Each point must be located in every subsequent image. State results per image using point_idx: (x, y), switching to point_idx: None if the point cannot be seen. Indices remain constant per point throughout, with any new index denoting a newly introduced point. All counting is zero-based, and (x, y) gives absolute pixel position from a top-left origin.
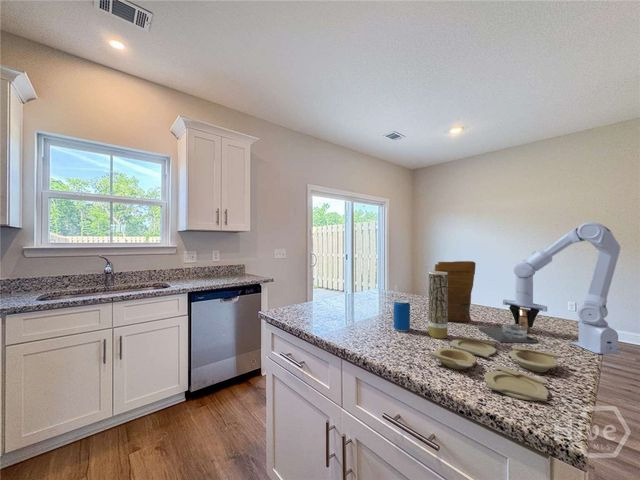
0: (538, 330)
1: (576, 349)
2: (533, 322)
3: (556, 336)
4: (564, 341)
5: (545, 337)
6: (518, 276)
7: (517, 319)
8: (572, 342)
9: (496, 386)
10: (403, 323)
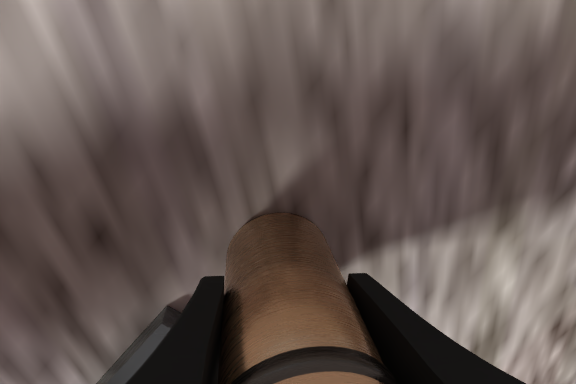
0: (381, 71)
1: (570, 355)
2: (397, 303)
3: (517, 164)
4: (545, 257)
5: (435, 269)
6: None
7: (217, 373)
8: None
9: None
10: None
